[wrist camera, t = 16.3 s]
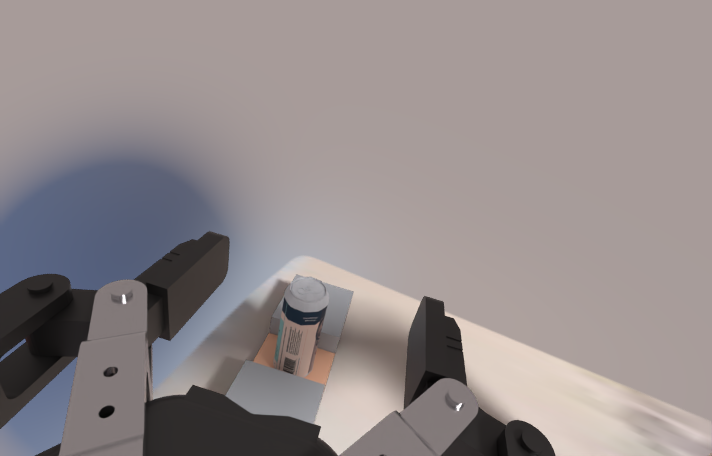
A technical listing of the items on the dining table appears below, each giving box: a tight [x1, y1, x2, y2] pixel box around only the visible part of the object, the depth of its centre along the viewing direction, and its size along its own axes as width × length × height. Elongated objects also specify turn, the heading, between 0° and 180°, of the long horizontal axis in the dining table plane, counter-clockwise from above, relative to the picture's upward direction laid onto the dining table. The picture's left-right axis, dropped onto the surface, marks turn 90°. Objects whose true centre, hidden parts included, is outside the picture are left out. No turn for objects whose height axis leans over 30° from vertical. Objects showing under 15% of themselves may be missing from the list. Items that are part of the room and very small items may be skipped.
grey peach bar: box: [225, 274, 353, 424], centre depth 41 cm, size 9×26×4 cm, turn 169°
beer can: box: [273, 277, 330, 378], centre depth 39 cm, size 5×5×12 cm
